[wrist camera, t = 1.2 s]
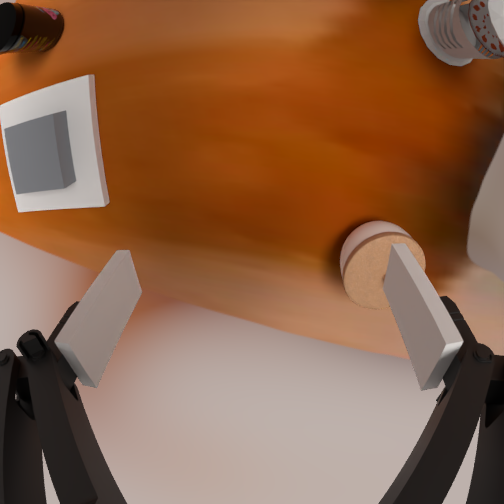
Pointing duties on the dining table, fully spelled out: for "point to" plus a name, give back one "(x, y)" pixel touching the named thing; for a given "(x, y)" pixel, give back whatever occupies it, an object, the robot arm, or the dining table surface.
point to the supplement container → (28, 28)
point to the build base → (79, 142)
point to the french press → (463, 29)
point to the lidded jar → (372, 261)
